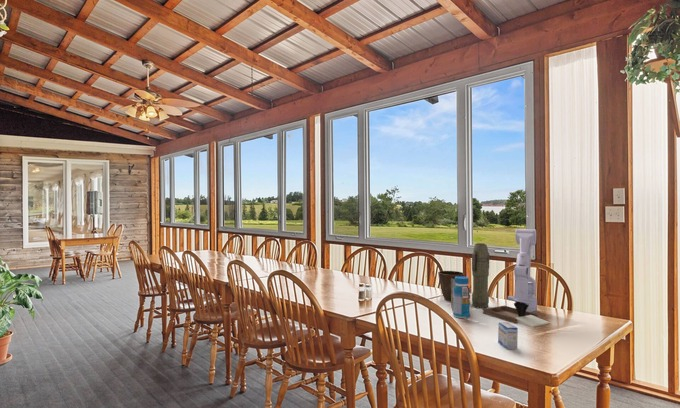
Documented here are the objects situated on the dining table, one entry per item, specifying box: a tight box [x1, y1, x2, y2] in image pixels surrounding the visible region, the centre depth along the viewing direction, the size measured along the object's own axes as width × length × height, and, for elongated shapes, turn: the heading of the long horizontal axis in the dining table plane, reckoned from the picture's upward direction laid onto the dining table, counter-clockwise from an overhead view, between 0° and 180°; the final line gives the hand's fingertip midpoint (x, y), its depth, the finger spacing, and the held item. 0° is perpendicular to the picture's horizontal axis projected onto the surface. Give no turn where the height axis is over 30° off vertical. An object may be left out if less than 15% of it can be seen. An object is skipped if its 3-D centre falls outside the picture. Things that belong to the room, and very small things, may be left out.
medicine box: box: [497, 321, 519, 350], centre depth 170 cm, size 8×4×9 cm, turn 5°
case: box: [482, 305, 539, 324], centre depth 211 cm, size 16×20×3 cm
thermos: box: [471, 242, 490, 310], centre depth 233 cm, size 9×12×35 cm
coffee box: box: [450, 279, 456, 312], centre depth 226 cm, size 9×6×16 cm
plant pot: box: [438, 270, 465, 302], centre depth 249 cm, size 15×15×16 cm
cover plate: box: [517, 315, 550, 328], centre depth 200 cm, size 12×10×2 cm
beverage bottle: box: [452, 275, 471, 319], centre depth 213 cm, size 8×8×20 cm
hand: (521, 317), depth 205 cm, fingers closed
